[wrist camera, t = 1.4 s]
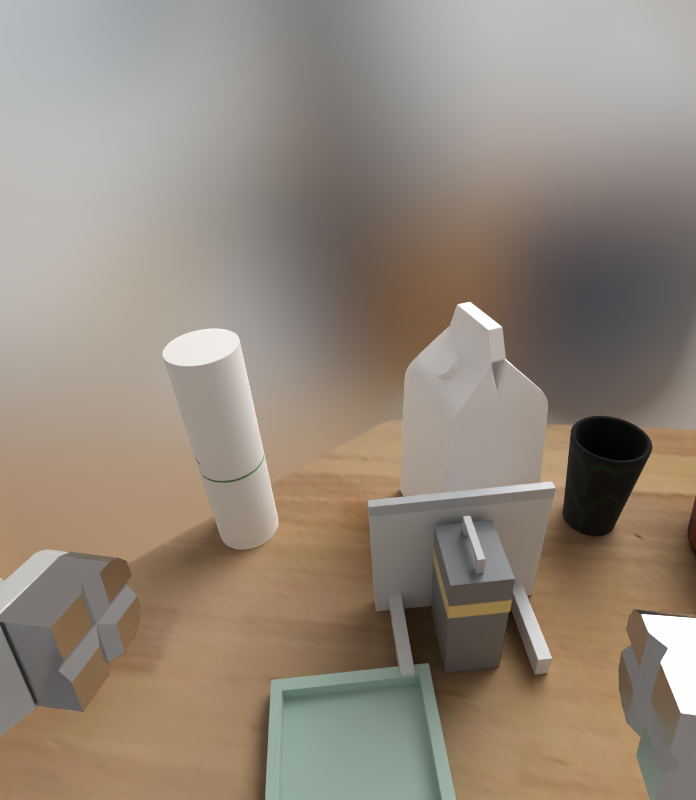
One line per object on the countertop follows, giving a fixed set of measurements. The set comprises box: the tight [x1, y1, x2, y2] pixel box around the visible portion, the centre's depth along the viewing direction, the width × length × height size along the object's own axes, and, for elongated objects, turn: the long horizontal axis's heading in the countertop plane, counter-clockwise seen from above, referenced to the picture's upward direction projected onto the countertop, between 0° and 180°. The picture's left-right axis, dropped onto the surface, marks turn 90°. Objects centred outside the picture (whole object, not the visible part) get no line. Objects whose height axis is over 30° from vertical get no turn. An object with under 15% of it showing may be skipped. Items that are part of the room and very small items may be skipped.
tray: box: [265, 663, 456, 800], centre depth 41 cm, size 14×14×2 cm
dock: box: [368, 482, 555, 685], centre depth 46 cm, size 16×9×15 cm, turn 94°
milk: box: [400, 302, 548, 497], centre depth 56 cm, size 12×12×26 cm
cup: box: [563, 416, 652, 536], centre depth 57 cm, size 8×8×12 cm
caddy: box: [431, 516, 515, 673], centre depth 46 cm, size 5×6×15 cm
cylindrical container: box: [163, 329, 278, 550], centre depth 56 cm, size 7×7×25 cm
